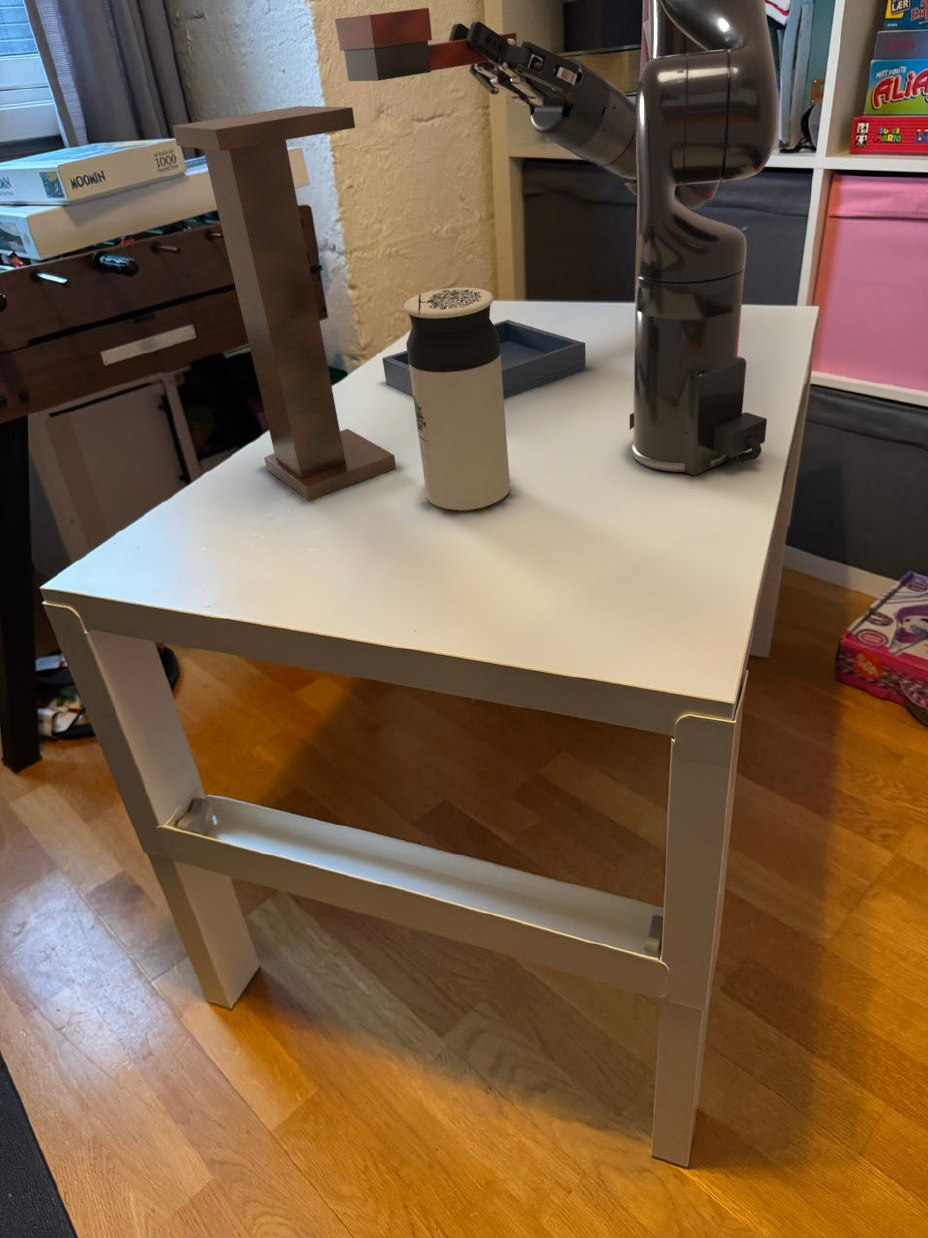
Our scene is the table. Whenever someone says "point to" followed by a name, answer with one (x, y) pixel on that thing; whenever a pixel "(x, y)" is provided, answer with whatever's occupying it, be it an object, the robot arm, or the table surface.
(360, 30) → the brush
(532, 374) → the tray
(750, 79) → the robot arm
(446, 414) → the travel mug
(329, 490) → the wooden pedestal stand
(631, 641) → the table surface
